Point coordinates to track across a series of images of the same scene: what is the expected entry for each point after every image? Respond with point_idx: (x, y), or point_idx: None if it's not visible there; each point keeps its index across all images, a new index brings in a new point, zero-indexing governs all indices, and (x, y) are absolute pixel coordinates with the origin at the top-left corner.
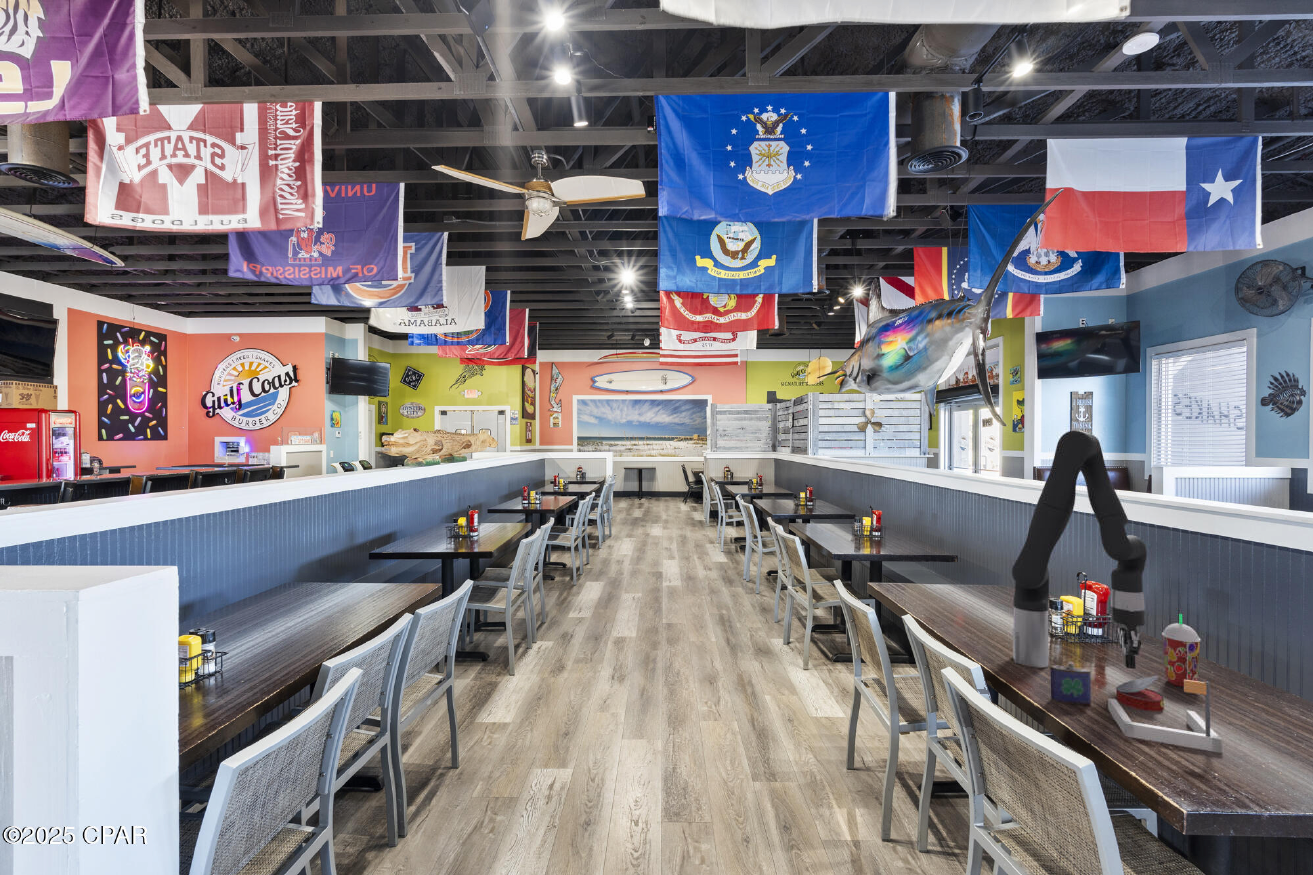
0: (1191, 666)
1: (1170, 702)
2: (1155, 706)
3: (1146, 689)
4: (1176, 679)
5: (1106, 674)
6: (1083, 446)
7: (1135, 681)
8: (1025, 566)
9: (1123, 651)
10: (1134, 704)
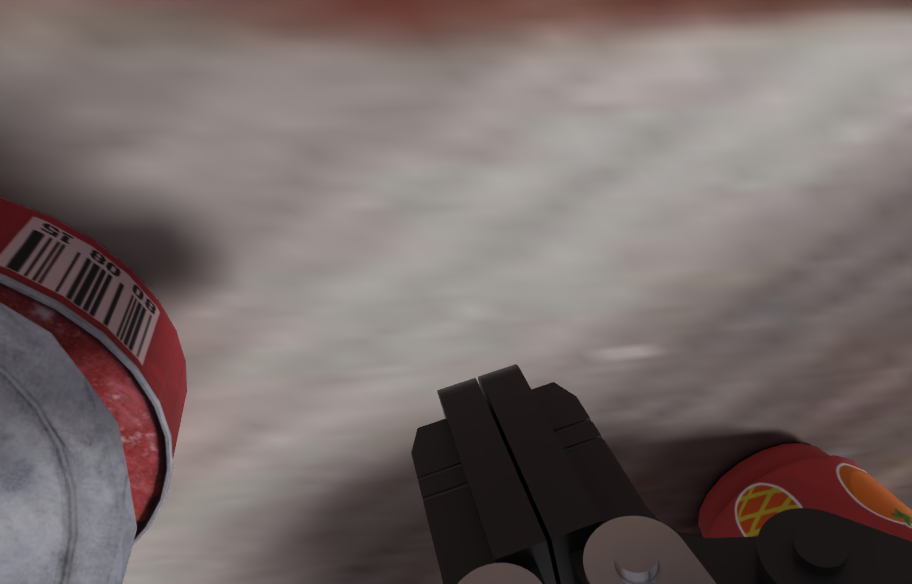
0: None
1: (256, 519)
2: None
3: (164, 473)
4: (725, 524)
5: (774, 34)
6: None
7: (37, 476)
8: None
9: (615, 550)
10: None
